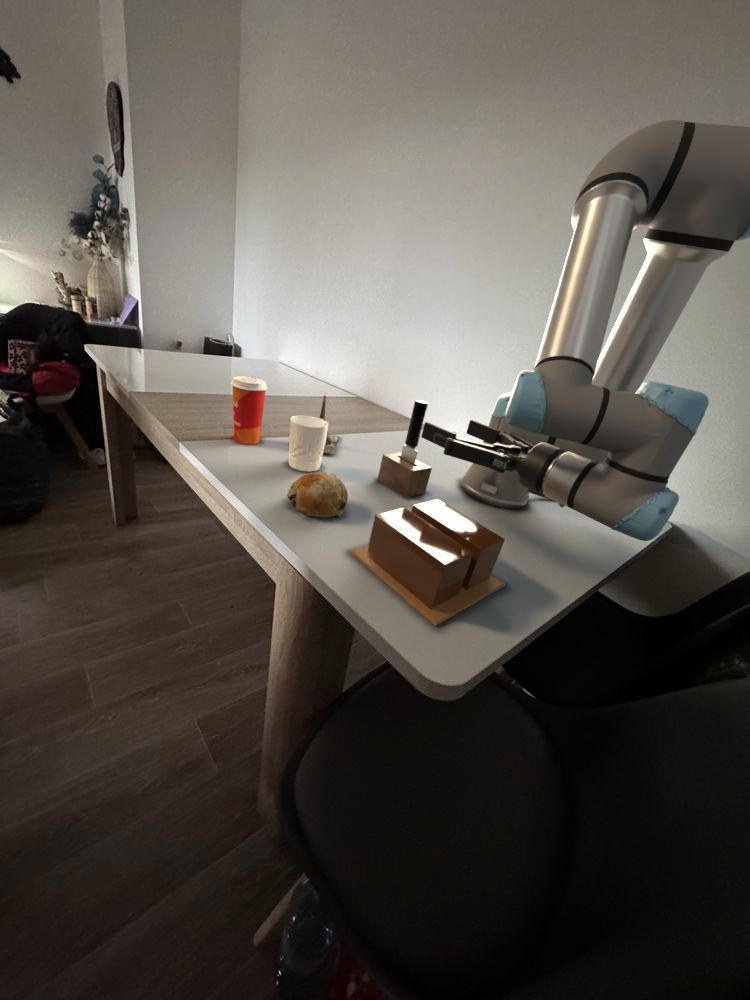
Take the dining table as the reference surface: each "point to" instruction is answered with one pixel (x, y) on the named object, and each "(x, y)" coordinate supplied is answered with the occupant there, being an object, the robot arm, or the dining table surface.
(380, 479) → the knife block
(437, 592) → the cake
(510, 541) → the dining table surface
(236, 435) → the paper cup
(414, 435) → the knife
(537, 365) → the robot arm
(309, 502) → the bread roll
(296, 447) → the white cup
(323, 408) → the eiffel tower figurine
